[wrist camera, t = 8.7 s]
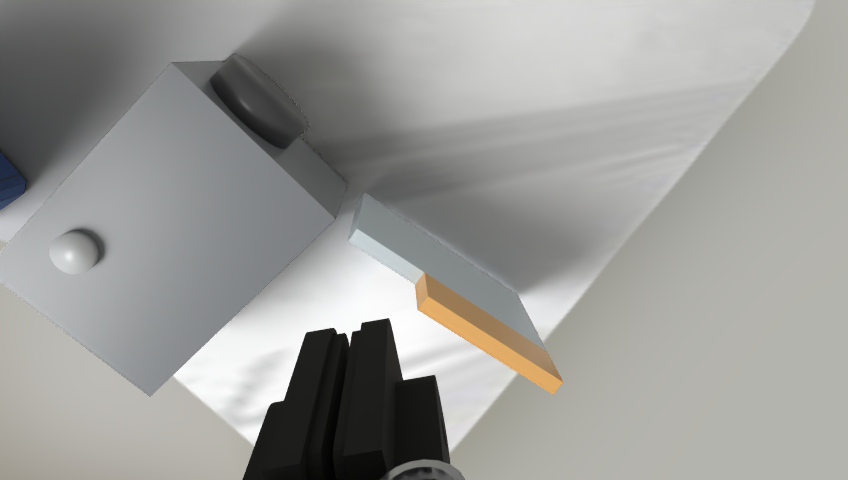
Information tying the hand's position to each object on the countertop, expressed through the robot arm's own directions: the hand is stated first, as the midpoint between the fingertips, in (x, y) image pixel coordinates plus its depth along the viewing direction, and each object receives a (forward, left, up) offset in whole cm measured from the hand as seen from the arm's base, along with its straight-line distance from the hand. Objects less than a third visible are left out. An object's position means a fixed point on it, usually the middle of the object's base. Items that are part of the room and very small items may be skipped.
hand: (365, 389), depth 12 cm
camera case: (+9, -6, -25) cm, 27 cm away
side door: (+1, +6, -24) cm, 25 cm away
